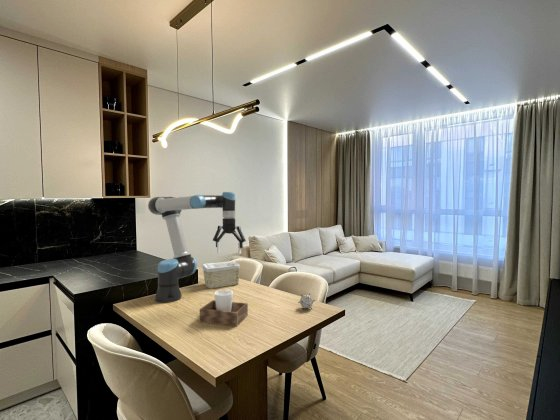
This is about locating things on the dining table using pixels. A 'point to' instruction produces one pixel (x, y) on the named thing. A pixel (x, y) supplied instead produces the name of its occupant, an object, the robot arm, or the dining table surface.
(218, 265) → the storage basket
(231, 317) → the brown wooden tray
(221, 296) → the foam cup
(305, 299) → the grey spiked ball
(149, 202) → the robot arm
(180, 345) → the dining table surface
